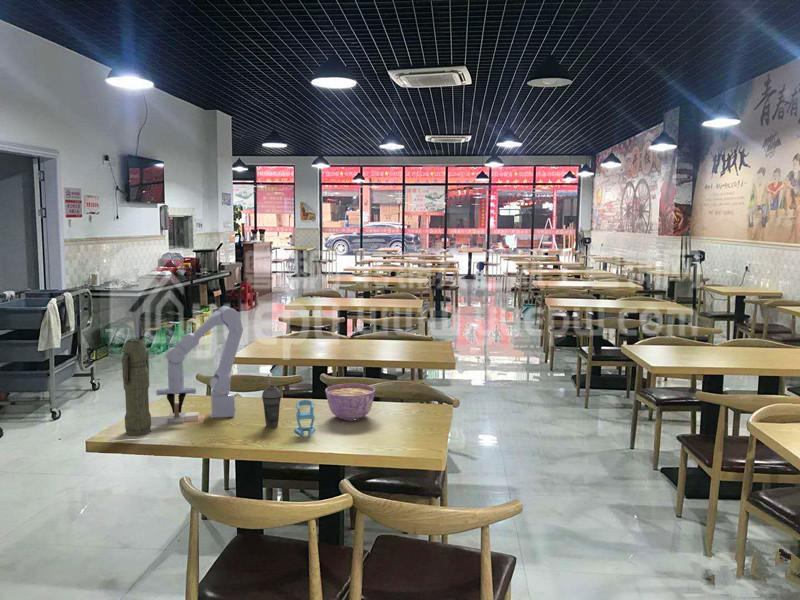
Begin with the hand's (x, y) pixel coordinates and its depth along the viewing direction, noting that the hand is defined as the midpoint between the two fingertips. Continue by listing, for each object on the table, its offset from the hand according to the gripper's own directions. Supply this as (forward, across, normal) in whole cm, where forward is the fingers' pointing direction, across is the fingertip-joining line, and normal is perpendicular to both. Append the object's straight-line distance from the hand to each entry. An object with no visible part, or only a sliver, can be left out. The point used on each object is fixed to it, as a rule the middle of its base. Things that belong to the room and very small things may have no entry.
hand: (177, 412), depth 255 cm
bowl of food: (+4, +67, -8) cm, 68 cm away
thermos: (+4, -12, -13) cm, 18 cm away
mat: (+4, -1, 0) cm, 4 cm away
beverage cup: (+4, +36, -13) cm, 39 cm away
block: (+3, +6, 0) cm, 6 cm away
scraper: (+3, 0, 0) cm, 3 cm away
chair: (+4, +48, -24) cm, 54 cm away
